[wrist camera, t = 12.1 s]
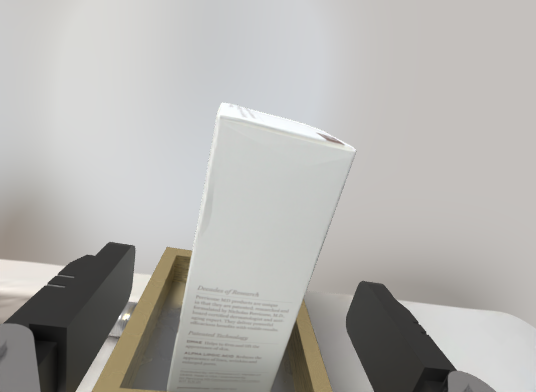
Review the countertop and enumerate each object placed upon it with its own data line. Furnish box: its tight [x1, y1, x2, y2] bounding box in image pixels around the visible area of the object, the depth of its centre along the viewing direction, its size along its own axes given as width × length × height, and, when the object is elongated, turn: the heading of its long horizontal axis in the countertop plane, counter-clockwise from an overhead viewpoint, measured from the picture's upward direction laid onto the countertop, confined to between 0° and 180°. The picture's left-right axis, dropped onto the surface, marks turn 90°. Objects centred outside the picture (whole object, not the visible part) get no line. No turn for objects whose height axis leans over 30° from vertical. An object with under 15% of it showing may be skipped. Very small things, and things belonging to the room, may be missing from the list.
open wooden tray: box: [92, 247, 332, 392], centre depth 19 cm, size 15×14×6 cm
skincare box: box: [167, 103, 356, 392], centre depth 16 cm, size 8×6×15 cm
